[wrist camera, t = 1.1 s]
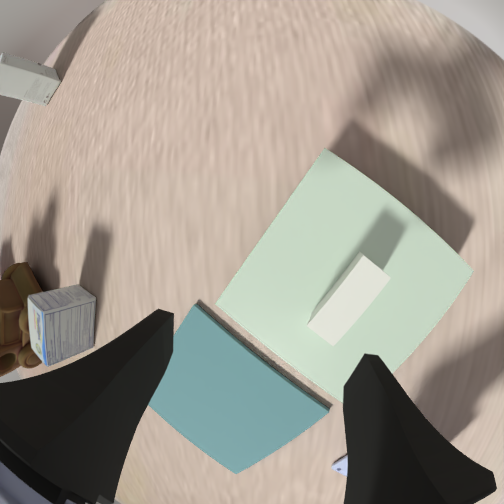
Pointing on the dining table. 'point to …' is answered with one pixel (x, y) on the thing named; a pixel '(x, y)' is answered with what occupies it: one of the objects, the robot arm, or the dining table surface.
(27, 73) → the skincare box
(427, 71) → the dining table surface
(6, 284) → the wooden toy train
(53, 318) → the medicine box
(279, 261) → the lid
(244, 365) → the mat
